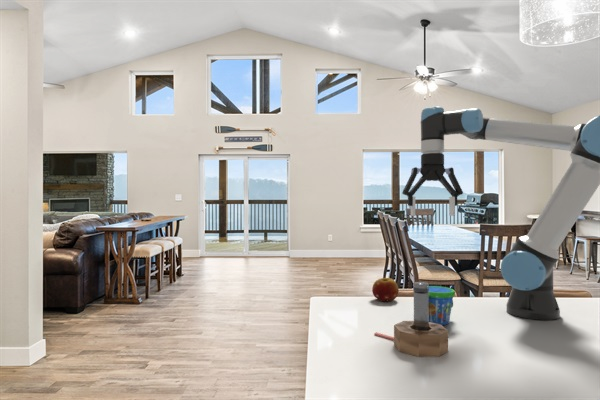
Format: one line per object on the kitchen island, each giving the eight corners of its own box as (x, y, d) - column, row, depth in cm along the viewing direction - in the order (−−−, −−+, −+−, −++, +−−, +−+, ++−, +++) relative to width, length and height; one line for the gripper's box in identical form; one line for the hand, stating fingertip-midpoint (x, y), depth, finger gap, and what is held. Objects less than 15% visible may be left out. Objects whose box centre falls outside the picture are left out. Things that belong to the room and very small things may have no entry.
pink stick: (415, 345, 105) (415, 343, 105) (413, 346, 104) (413, 344, 104) (376, 334, 114) (376, 332, 114) (374, 335, 113) (374, 333, 113)
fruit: (372, 302, 150) (372, 280, 150) (372, 297, 158) (372, 276, 159) (399, 303, 148) (399, 281, 148) (397, 297, 157) (397, 276, 157)
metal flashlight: (426, 344, 105) (425, 281, 105) (431, 350, 101) (430, 284, 101) (411, 345, 105) (411, 282, 105) (416, 350, 101) (416, 284, 101)
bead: (435, 339, 109) (435, 320, 109) (454, 356, 97) (454, 334, 97) (390, 340, 109) (390, 321, 109) (404, 357, 97) (404, 335, 97)
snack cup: (438, 314, 133) (438, 283, 133) (467, 322, 125) (467, 288, 125) (404, 322, 125) (404, 288, 125) (433, 331, 116) (433, 295, 116)
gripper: (463, 155, 145) (463, 215, 145) (393, 154, 144) (393, 215, 144) (473, 152, 138) (473, 216, 138) (399, 152, 137) (399, 216, 136)
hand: (432, 215), depth 141 cm, fingers open, 13 cm apart
